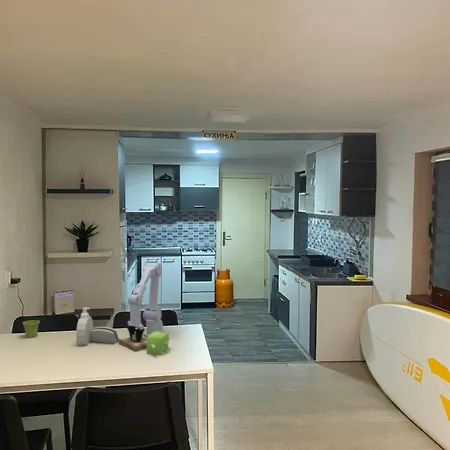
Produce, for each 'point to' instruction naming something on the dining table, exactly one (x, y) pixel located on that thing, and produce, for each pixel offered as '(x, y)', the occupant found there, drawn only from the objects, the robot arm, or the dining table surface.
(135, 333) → the mottled grey cylinder
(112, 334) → the grey rounded piece
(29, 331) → the plant pot
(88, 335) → the soap bottle
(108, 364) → the dining table surface
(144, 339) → the jig
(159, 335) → the gearbox
